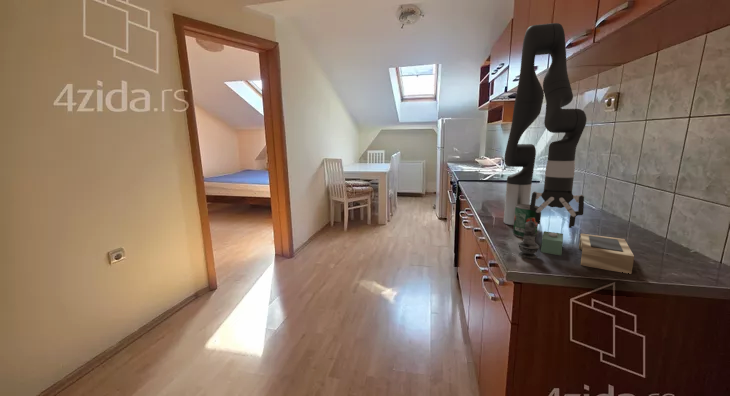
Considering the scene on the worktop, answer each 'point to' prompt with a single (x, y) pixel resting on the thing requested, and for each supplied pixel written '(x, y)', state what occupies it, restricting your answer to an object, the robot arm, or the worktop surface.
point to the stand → (606, 253)
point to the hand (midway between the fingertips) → (553, 225)
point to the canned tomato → (523, 219)
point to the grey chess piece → (528, 242)
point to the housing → (552, 243)
